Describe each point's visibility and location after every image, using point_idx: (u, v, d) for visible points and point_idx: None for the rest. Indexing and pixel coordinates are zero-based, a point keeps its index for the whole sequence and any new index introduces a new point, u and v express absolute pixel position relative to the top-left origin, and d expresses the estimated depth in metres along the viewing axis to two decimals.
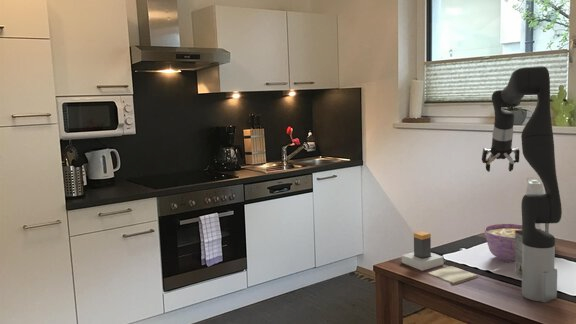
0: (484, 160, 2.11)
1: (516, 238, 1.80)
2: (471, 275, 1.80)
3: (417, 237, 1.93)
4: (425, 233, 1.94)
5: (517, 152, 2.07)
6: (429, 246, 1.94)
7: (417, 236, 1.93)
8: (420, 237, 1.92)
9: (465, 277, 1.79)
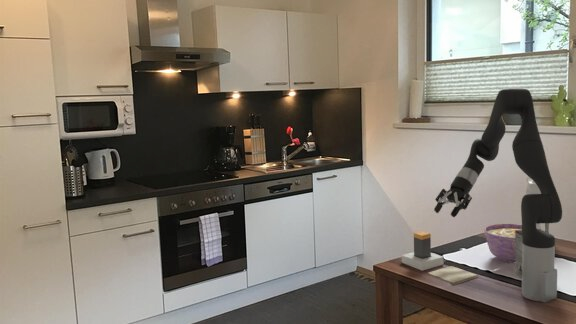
0: (437, 197, 2.05)
1: (516, 238, 1.80)
2: (471, 275, 1.80)
3: (417, 237, 1.93)
4: (425, 233, 1.94)
5: (466, 195, 1.95)
6: (429, 246, 1.94)
7: (417, 236, 1.93)
8: (420, 237, 1.92)
9: (465, 277, 1.79)
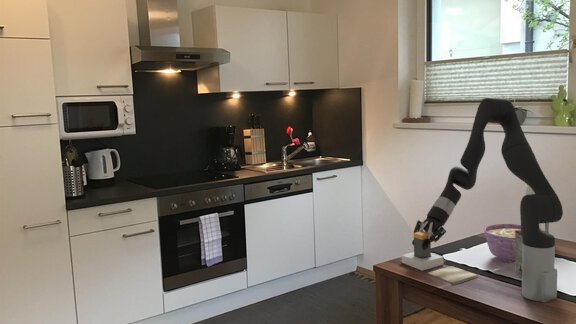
0: (415, 230, 1.99)
1: (516, 238, 1.80)
2: (471, 275, 1.80)
3: (417, 237, 1.93)
4: (425, 233, 1.94)
5: (440, 229, 1.91)
6: (429, 246, 1.94)
7: (417, 236, 1.93)
8: (420, 237, 1.92)
9: (465, 277, 1.79)
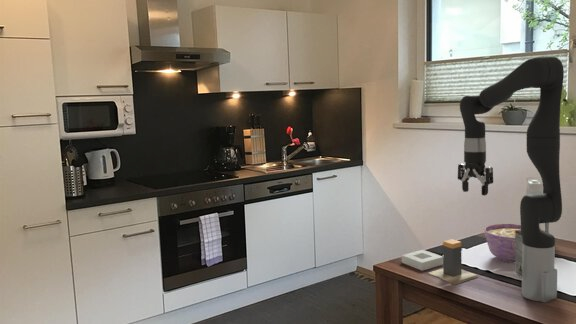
0: (459, 176, 1.92)
1: (516, 238, 1.80)
2: (471, 275, 1.80)
3: (447, 245, 1.80)
4: (455, 241, 1.81)
5: (486, 171, 1.80)
6: (460, 255, 1.81)
7: (447, 245, 1.80)
8: (450, 246, 1.79)
9: (465, 277, 1.79)
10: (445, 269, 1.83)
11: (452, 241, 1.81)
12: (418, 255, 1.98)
